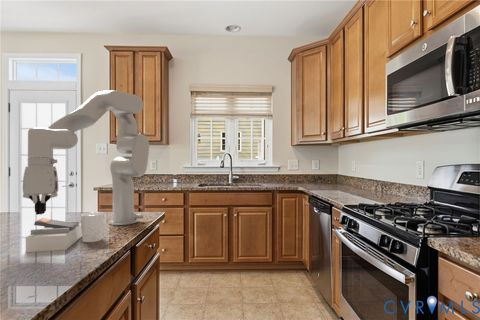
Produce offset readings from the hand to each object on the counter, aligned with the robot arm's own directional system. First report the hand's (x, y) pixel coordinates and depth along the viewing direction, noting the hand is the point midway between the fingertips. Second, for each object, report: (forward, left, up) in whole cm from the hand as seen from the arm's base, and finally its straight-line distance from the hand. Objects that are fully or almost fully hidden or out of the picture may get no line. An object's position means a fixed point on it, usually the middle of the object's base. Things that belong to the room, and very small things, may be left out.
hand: (40, 213), depth 106 cm
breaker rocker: (-5, 0, -4) cm, 6 cm away
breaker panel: (-5, 0, -11) cm, 12 cm away
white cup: (-17, -2, -11) cm, 20 cm away
